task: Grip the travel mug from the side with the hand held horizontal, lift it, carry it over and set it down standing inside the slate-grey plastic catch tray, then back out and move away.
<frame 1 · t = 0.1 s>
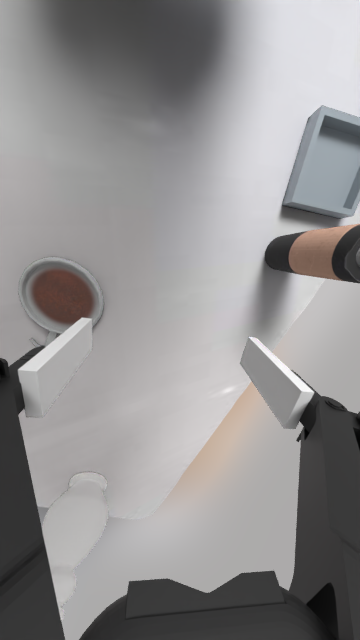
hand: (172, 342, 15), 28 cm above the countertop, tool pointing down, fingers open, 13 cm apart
frying pan: (60, 317, 42), on the countertop
catch tray: (325, 172, 36), on the countertop
travel mug: (279, 253, 41), on the countertop
decorative vase: (88, 482, 63), on the countertop
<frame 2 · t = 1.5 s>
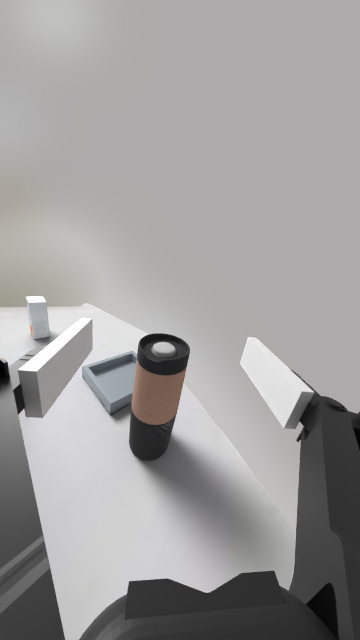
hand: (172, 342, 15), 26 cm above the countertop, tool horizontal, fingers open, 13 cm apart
skincare box: (40, 334, 59), on the countertop
catch tray: (123, 381, 46), on the countertop
travel mug: (149, 440, 33), on the countertop
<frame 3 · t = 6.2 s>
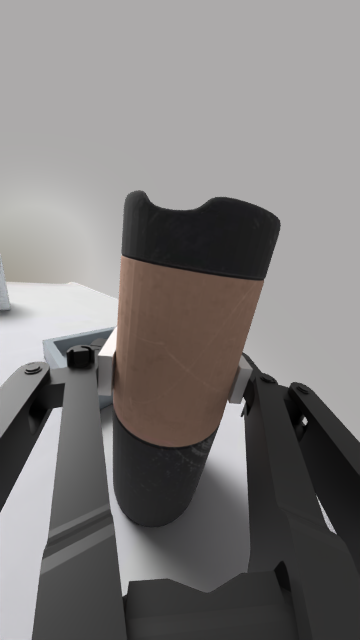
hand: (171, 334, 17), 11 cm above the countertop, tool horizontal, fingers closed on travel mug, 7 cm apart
catch tray: (110, 365, 28), on the countertop
travel mug: (155, 472, 16), on the countertop, touching gripper
when the fingers open (13 cm above the countertop, at t = 10.5 s): travel mug drops 1 cm, resting on catch tray.
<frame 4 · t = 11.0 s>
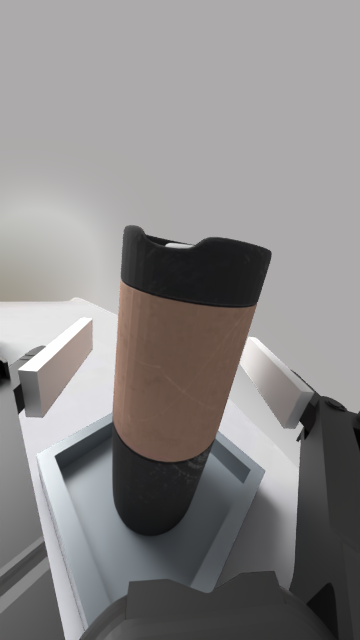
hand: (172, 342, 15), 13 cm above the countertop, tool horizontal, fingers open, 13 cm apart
catch tray: (153, 484, 17), on the countertop
travel mug: (154, 480, 16), point 1 cm above the countertop, touching catch tray
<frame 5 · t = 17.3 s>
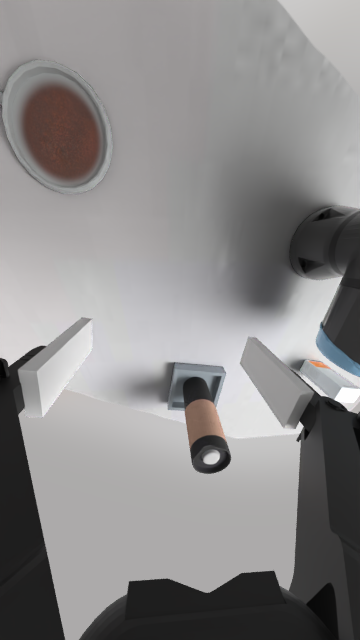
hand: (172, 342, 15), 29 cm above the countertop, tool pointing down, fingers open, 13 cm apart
skincare box: (309, 365, 54), on the countertop
frying pan: (33, 120, 31), on the countertop
catch tray: (194, 384, 53), on the countertop
travel mug: (194, 386, 53), point 1 cm above the countertop, touching catch tray
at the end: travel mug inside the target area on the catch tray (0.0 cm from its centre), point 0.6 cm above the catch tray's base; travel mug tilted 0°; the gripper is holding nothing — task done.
